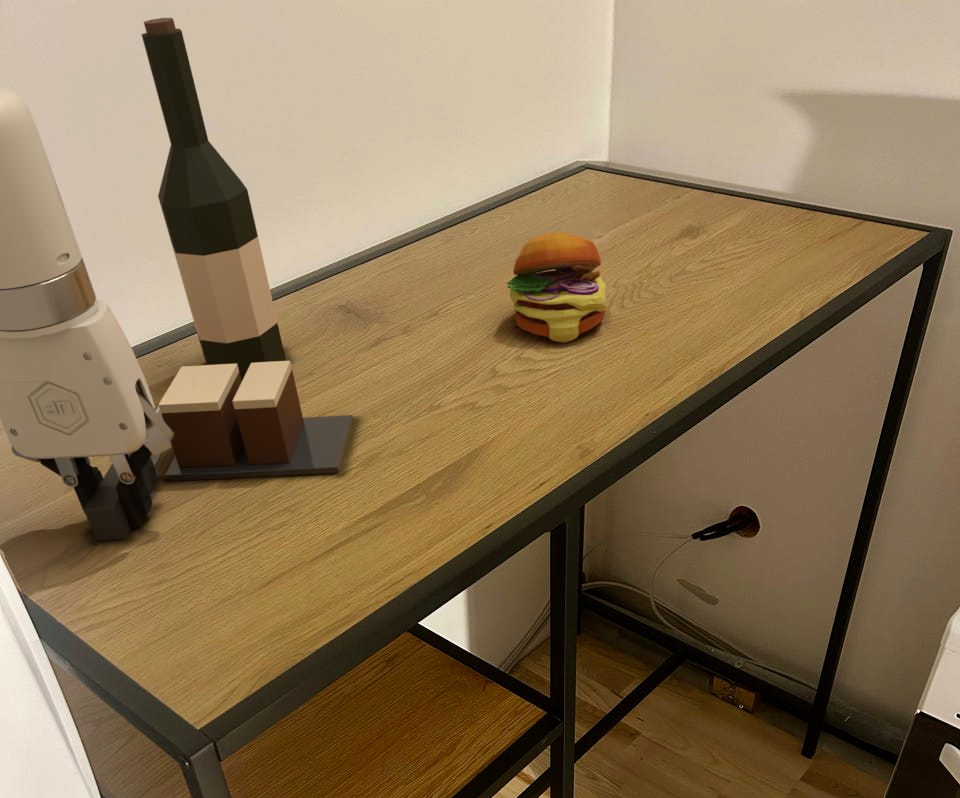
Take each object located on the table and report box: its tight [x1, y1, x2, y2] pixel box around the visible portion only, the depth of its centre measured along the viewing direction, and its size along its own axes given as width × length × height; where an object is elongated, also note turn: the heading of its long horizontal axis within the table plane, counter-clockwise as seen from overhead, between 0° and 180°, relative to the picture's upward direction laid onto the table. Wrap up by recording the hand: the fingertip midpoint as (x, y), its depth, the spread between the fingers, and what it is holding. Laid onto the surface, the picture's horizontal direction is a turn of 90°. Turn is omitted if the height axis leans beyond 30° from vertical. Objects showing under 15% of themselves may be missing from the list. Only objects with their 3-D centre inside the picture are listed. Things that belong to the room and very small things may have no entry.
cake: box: [157, 364, 244, 468], centre depth 82 cm, size 5×7×6 cm
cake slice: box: [232, 360, 304, 465], centre depth 82 cm, size 4×7×6 cm, turn 178°
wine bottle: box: [141, 17, 287, 381], centre depth 88 cm, size 8×8×30 cm
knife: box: [83, 405, 163, 542], centre depth 81 cm, size 18×2×3 cm, turn 178°
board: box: [164, 414, 355, 482], centre depth 84 cm, size 15×9×1 cm, turn 88°
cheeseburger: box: [506, 232, 607, 344], centre depth 97 cm, size 10×11×10 cm
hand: (122, 517), depth 77 cm, fingers closed on knife, 2 cm apart
